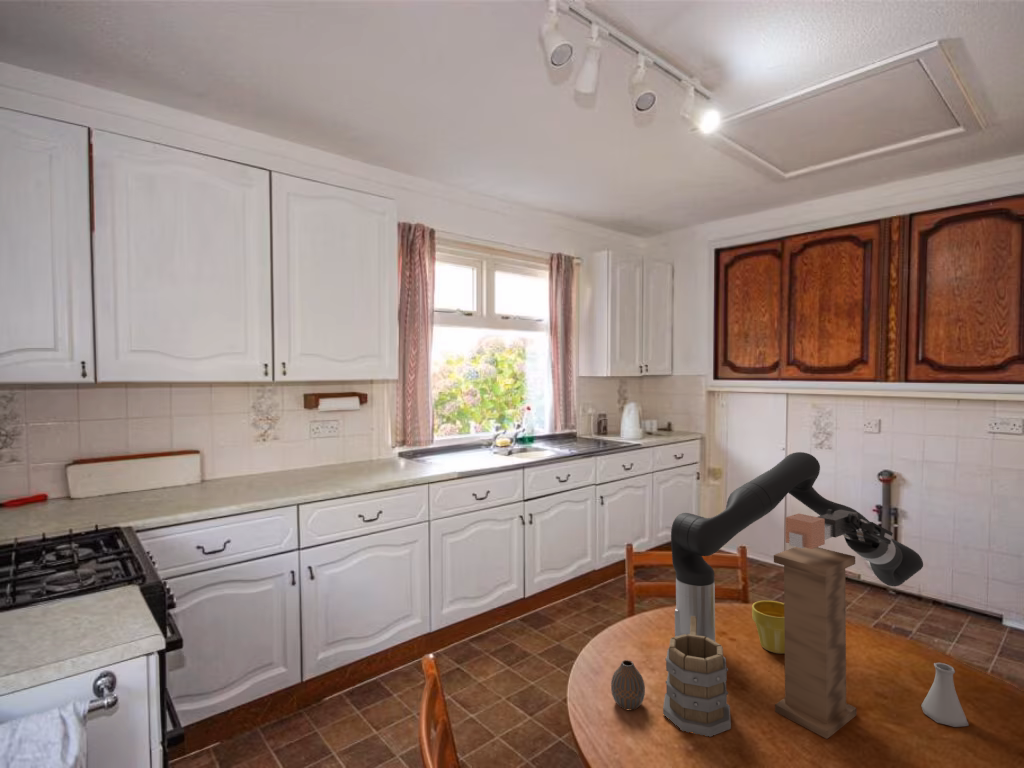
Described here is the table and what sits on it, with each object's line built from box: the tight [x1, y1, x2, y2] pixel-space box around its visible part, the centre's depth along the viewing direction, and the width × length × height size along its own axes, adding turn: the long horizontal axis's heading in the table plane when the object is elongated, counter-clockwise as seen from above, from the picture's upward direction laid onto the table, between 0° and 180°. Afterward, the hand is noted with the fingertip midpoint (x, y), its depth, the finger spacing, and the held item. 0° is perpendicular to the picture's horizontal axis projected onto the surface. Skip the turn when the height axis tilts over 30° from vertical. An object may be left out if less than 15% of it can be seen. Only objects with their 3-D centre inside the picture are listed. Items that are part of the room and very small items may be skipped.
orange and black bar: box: [785, 510, 858, 549], centre depth 108 cm, size 22×5×5 cm, turn 124°
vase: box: [610, 659, 646, 710], centre depth 110 cm, size 7×7×9 cm
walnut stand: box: [773, 546, 857, 740], centre depth 106 cm, size 12×10×32 cm
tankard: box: [662, 616, 732, 738], centre depth 110 cm, size 20×13×15 cm, turn 160°
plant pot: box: [751, 600, 785, 655], centre depth 132 cm, size 10×10×10 cm
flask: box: [920, 662, 970, 728], centre depth 105 cm, size 7×7×10 cm
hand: (839, 515), depth 112 cm, fingers closed on orange and black bar, 3 cm apart
